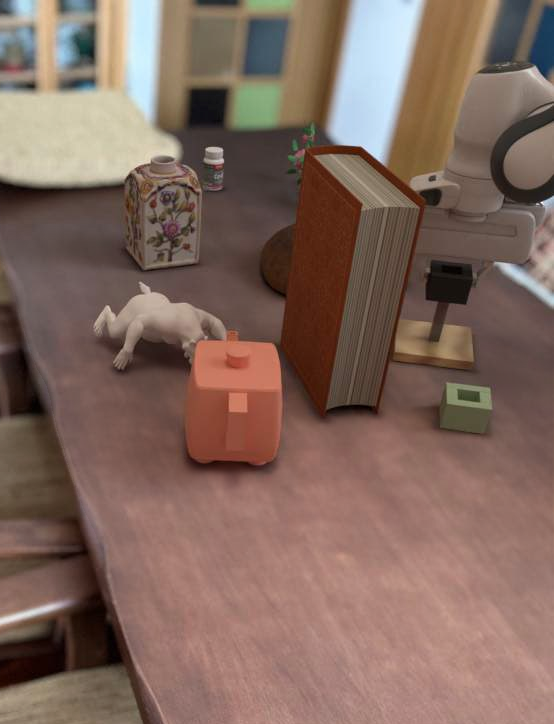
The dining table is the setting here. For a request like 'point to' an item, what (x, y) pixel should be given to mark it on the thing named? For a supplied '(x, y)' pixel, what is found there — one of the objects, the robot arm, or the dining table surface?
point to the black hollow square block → (449, 282)
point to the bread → (279, 258)
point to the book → (348, 274)
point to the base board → (434, 342)
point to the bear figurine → (158, 324)
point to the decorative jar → (163, 214)
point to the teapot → (234, 401)
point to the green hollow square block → (465, 408)
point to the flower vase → (299, 157)
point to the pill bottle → (213, 168)
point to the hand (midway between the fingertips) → (447, 283)
